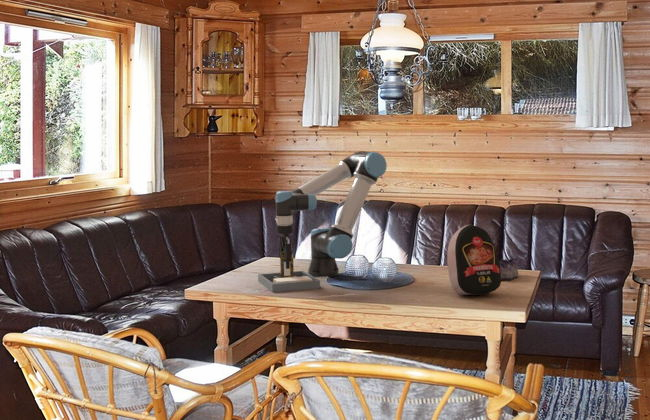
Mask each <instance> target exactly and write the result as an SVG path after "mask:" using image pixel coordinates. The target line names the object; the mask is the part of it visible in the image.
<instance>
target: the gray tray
mask: <svg viewBox="0 0 650 420" xmlns="http://www.w3.org/2000/svg"><path fill="white" fill-rule="evenodd" d="M274 276H281V273H280V272H269V273H268V272H267V273H258V274H257V278H258V279H257V280H258V281H257V282H258V283H259V284H261V285H262V286H263V287H265V288H266V289H267V290H269V291H270V292H271V293H279V292H291V291H292V292H294V291H304V290H305V291H306V290H317V289H320V288H321V280H320V279H318V278H317V277H313V276H311V275H310V274H308V272H306V271H304V270H298V271H297V270H294V275H293V276H296V277H302V276H308V277H309V278H311V279H312V281H302V282H290V283H277V284H274V283H273V279H275V278H276V277H274Z"/></svg>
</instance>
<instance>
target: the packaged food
mask: <svg viewBox="0 0 650 420" xmlns="http://www.w3.org/2000/svg"><path fill="white" fill-rule="evenodd" d="M446 255H447V257H446V258H447V261H446V262H447V270H448V271H447V272H448V277H449V283H450V287H451V288H452V290H453V292H454V293H455V294H456V295H459V296H472V295H473V296H475V295H477V296H478V295H480V296H481V295H487V294H489V293H493V292H495V291H496V290H498V289H499V288H500V286H501V284H502V280H501V271H500V264H499V261H500V260H499V257H498V253H497V250H496V247H495V244H494V241H493V240H492V238H491V236H490V234H489V233H488V232H487V231H486V230H485V229H483V228H482V227H481V226H480V227H479V226H478V225H474V224H473V225H472V224H465V225H463V226H462V227H460V228H459V229H458V230H457V231H456V232H455V233H454V234H453V235H452V237H451V238H450V239H449V243H448V247H447V254H446Z"/></svg>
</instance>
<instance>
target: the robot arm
mask: <svg viewBox="0 0 650 420" xmlns="http://www.w3.org/2000/svg"><path fill="white" fill-rule="evenodd" d="M386 171H387V161H386V158H385V156H384V155H383V154H382V153H380V152H376V151H364V150H361V151H357V152H354V153H352V154H350V155H349V156H347V157H345V158H344V159H342V160H340V161H339V163H338V165H336V166H334V167H332V168H330V169H328V170H327V171H325V172H324V173H322V174H320V175H318V176H317V177H315V178H313V179H311V180H310V181H308V182H306V183H304V184H303V185H301V186H299V187H297V188H295V189H293V190H292V191H291V190H278V191H277V192H276V193H275V218H274V220H275V223H276V226H275V227H276V228H275V229H276V232H275V233H276V234H278V237H277V238H278V257H279V259H280V258H281V252H282V251H284V258H285V260H284V261H283V262H284V276H289V275H290V261H291V260H292V258H291V251H292V239H291V237H290V234H292V233H293V232H294V231H293V224H294V223H293V222H294V221H293V218H294V217H293V212H300V211H303V212H304V211H313V210H315V209H316V208H317V205H318V199H317V197H316V196H317V195H320V194H321V193H323V192H325V191H327V190H329V188H332V187H334V186H335V185H338V184H339V183H340V182H342V181H344V180H346V179H348V180H349V179H351V178H354V180H353V182H352V185H351V186H350V189H349V191H348V194H347V197H346V199H345V201H344V203H343V204H342V207H341V210H340V212H339V214H338V216H337V220H336V221H335V223H334V224H332V225H330V227H324V228H322V227H321V228H313V229H312V230H311V232H310V252H311V253H310V254H311V259H310V263H309V266H308V269H307V273H308V274H310V275H311V276H313V277H315V278H320V277H321V278H322V277H324V278H325V277H328V278H332V277H333V276H334V277H337V275H338V276H339V275H340V269H339V267H338V263H337V261H336V259H344V258H346V257H348V256H349V255H350V254H351V253H352V250H353V246H354V245H353V237H354V233H353V229H354V227H355V225H356V222H357V220H358V218H359V215H360V214H361V210H362V208H363V206H364V203H365V201H366V199H367V197H368V194H369V192H370V190H371V187H372V185H375V184H377V181H378V179H379V178H380V177H382V176H383V175H384V174H385V172H386ZM279 268H280V269H279V270H280V272H279V273H281V266H280V265H279ZM334 277H333V278H334Z"/></svg>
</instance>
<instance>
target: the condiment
mask: <svg viewBox="0 0 650 420" xmlns="http://www.w3.org/2000/svg"><path fill="white" fill-rule="evenodd" d="M291 258H292V260H291V261H290V275H289V276H284V262H283V261H284V260H285V258H284V251H282V252H281V258H280V257H279V262H280V263H279V267H280V266H281V276H274V277H276V278H288V277H296V276H293V275H294V271H295V270H294V257H293V251H292V250H291Z"/></svg>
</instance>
